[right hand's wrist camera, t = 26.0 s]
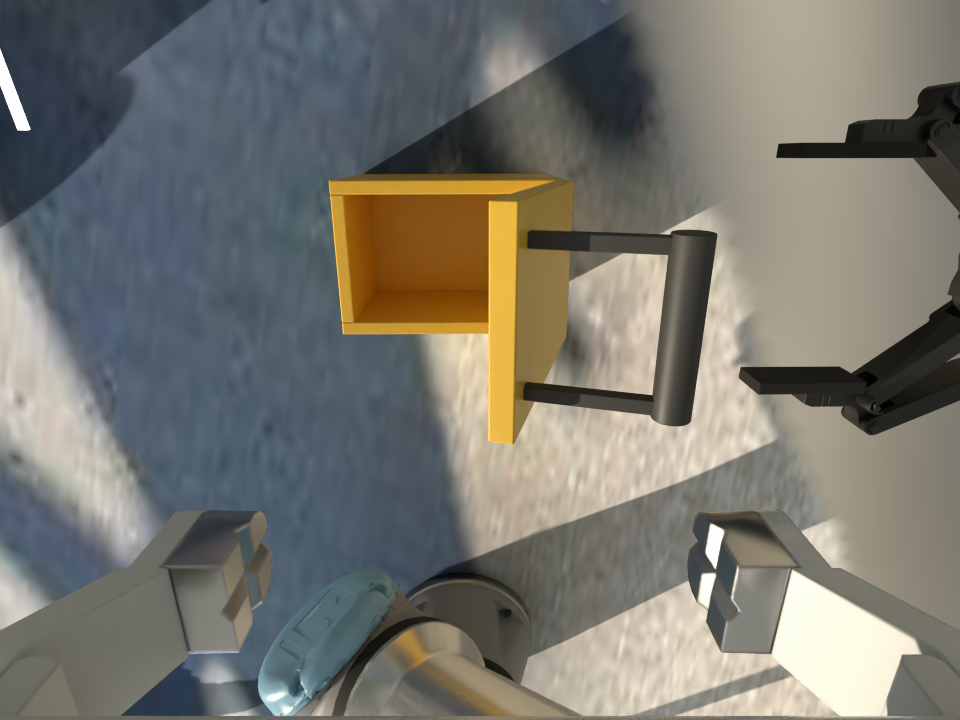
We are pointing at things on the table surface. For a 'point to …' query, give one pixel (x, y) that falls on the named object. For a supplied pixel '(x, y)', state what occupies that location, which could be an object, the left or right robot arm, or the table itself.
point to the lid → (544, 304)
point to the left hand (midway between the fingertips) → (767, 273)
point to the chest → (417, 250)
